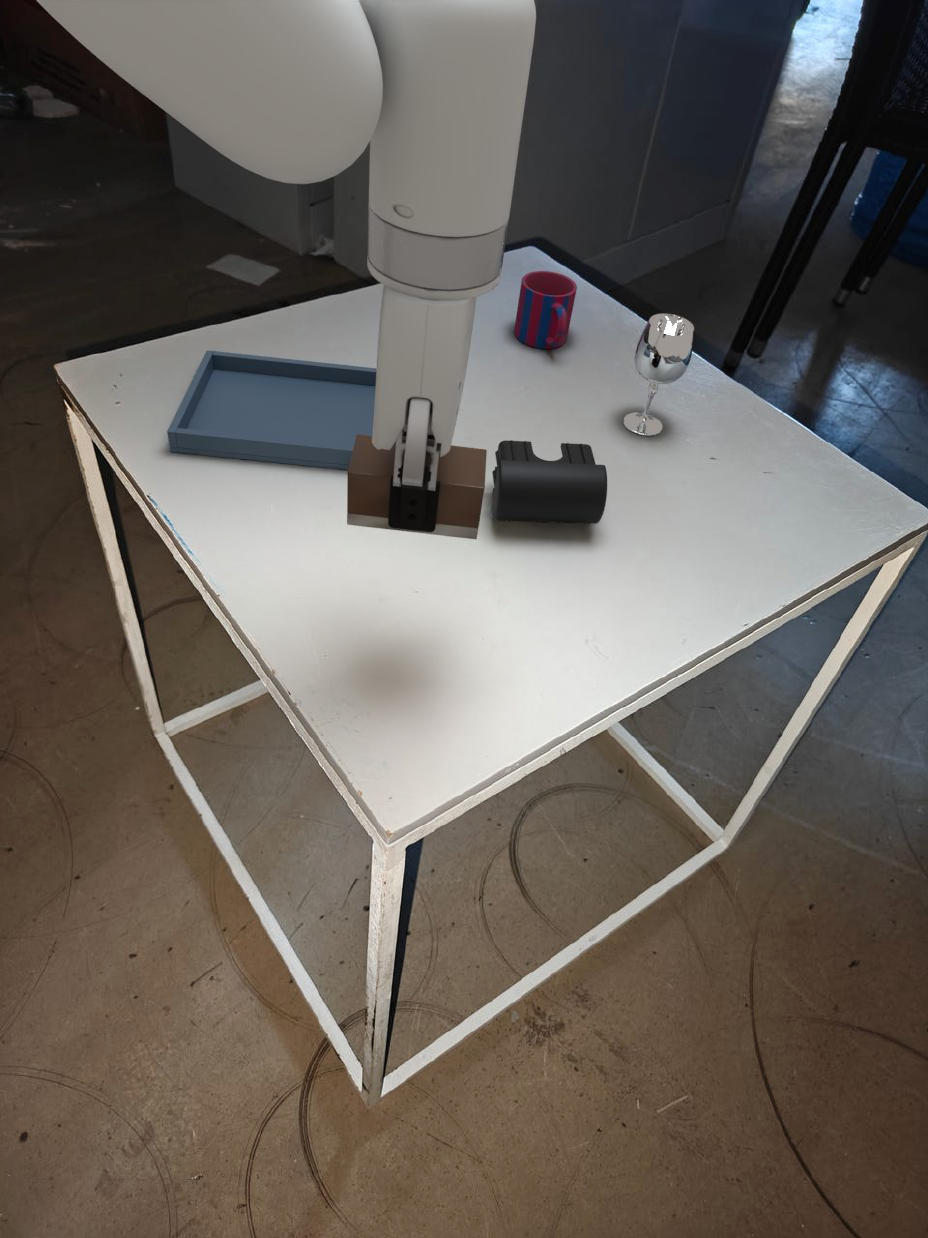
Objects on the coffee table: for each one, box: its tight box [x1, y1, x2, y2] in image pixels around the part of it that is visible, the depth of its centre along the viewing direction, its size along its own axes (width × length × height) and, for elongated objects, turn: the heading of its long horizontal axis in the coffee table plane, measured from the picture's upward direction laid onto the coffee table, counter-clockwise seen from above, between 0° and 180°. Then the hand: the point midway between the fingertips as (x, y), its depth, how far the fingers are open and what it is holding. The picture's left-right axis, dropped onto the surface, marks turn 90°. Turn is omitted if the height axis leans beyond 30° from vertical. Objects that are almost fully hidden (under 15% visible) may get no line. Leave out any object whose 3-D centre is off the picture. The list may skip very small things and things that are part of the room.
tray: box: [166, 349, 377, 471], centre depth 90 cm, size 22×16×2 cm
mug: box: [513, 270, 578, 350], centre depth 105 cm, size 7×10×7 cm
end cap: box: [490, 439, 608, 525], centre depth 81 cm, size 10×7×7 cm
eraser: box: [346, 434, 488, 540], centre depth 59 cm, size 9×4×4 cm, turn 87°
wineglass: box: [622, 313, 695, 437], centre depth 92 cm, size 6×6×12 cm
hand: (415, 501), depth 60 cm, fingers closed on eraser, 4 cm apart
